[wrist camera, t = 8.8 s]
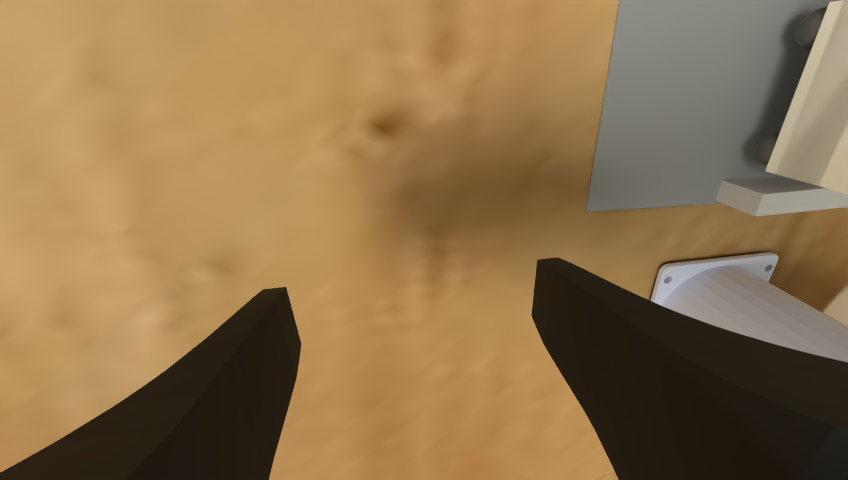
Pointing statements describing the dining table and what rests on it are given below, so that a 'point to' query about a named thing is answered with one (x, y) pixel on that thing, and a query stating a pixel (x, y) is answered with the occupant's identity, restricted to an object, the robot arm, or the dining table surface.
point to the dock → (701, 106)
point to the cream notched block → (816, 107)
